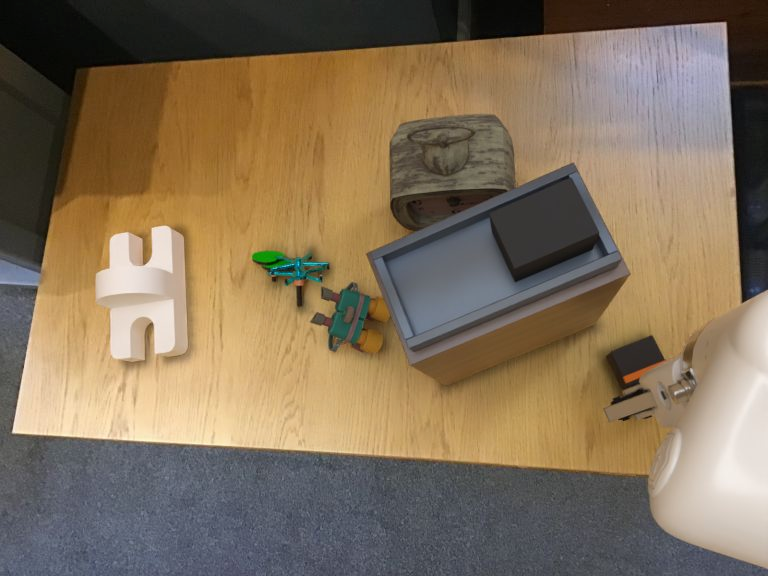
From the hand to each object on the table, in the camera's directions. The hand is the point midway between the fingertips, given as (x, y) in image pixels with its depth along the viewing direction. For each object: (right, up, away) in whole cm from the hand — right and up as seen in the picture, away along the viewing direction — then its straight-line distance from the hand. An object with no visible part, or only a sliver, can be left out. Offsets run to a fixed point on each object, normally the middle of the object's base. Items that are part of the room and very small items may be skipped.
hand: (684, 382), depth 61 cm
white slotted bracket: (-61, +7, +34) cm, 70 cm away
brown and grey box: (-13, +5, +23) cm, 27 cm away
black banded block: (+3, -2, +18) cm, 19 cm away
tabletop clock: (-17, +20, +27) cm, 38 cm away
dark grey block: (-14, +13, -5) cm, 20 cm away
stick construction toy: (-40, +10, +30) cm, 51 cm away
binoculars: (-30, +4, +27) cm, 41 cm away
